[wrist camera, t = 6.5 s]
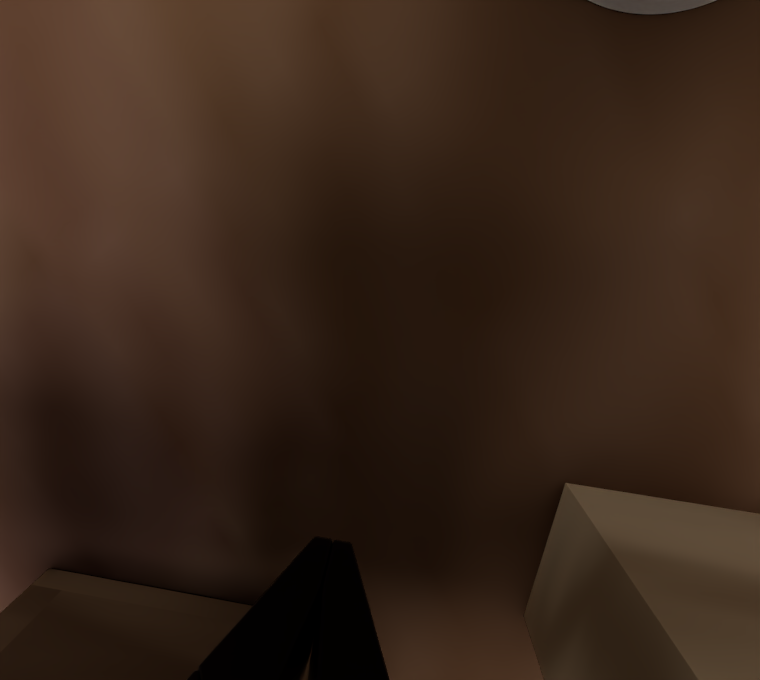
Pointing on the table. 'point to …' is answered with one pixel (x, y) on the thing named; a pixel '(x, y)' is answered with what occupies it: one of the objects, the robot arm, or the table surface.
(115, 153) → the table surface
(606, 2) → the dixie cup
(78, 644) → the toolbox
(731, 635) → the block
